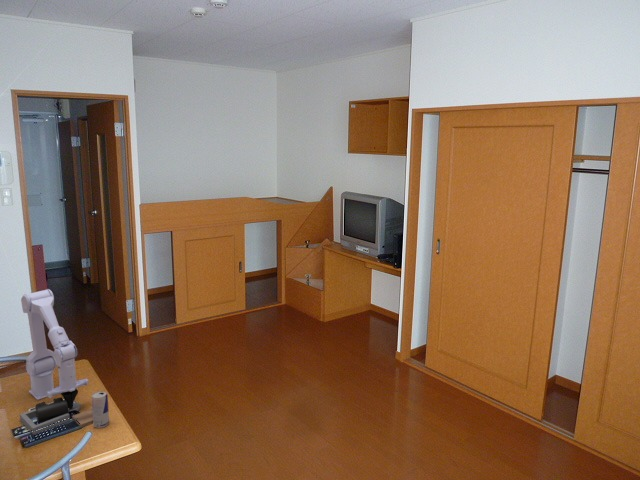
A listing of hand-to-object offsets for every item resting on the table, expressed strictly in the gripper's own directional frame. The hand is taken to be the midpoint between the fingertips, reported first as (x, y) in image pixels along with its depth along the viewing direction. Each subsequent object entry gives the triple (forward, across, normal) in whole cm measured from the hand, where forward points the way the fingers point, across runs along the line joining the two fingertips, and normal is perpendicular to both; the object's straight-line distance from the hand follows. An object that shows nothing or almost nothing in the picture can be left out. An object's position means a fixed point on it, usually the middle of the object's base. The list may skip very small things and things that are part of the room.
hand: (70, 407), depth 190 cm
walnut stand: (+1, +2, -10) cm, 10 cm away
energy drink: (+2, +4, -17) cm, 18 cm away
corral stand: (+1, -9, 0) cm, 9 cm away
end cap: (+2, -7, -1) cm, 7 cm away
